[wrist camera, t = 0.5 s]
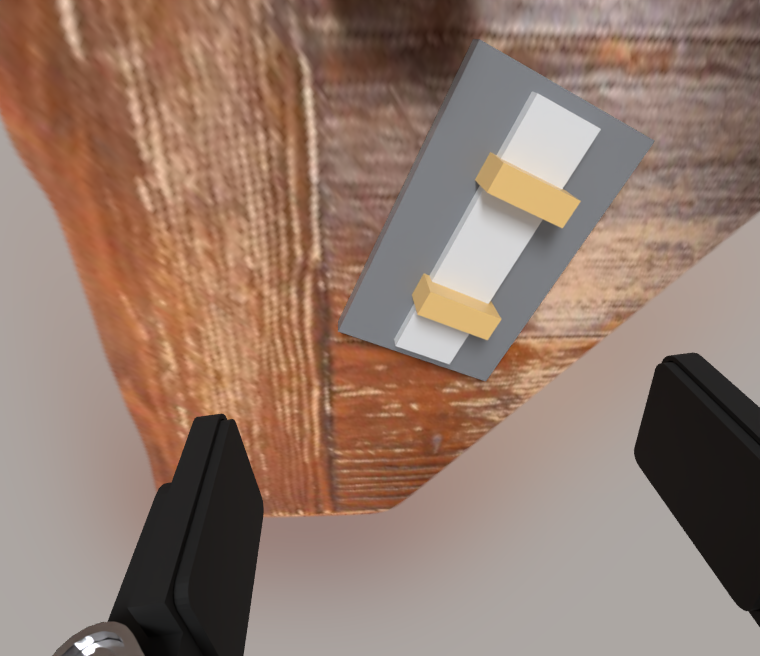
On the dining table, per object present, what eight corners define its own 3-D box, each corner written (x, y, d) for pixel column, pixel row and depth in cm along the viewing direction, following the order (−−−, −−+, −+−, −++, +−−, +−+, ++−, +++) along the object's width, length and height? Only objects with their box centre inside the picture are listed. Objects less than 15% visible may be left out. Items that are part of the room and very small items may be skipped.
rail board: (473, 38, 30) (493, 40, 26) (642, 136, 34) (682, 150, 30) (338, 321, 40) (338, 352, 36) (481, 371, 44) (495, 403, 40)
